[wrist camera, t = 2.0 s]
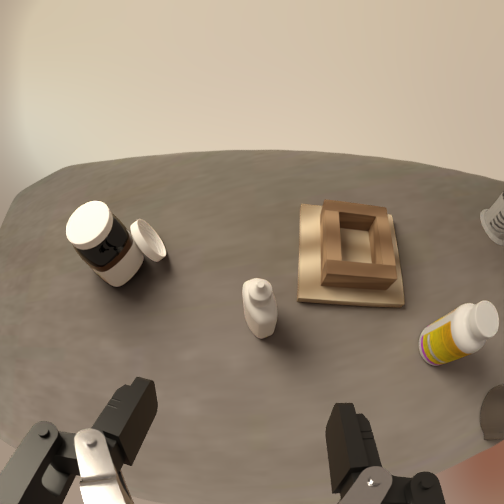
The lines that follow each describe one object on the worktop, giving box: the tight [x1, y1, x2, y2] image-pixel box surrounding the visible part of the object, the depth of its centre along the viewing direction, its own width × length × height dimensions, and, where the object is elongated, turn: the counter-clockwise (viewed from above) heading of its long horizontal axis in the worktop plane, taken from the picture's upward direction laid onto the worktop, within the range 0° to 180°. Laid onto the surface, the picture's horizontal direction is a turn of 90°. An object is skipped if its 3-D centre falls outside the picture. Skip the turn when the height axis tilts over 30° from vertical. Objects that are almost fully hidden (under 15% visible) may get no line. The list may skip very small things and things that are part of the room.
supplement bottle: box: [419, 300, 499, 366], centre depth 29 cm, size 7×7×13 cm
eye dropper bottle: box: [242, 278, 278, 339], centre depth 33 cm, size 4×6×12 cm
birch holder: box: [297, 200, 405, 308], centre depth 40 cm, size 16×16×6 cm
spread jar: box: [66, 201, 166, 287], centre depth 38 cm, size 12×11×12 cm
